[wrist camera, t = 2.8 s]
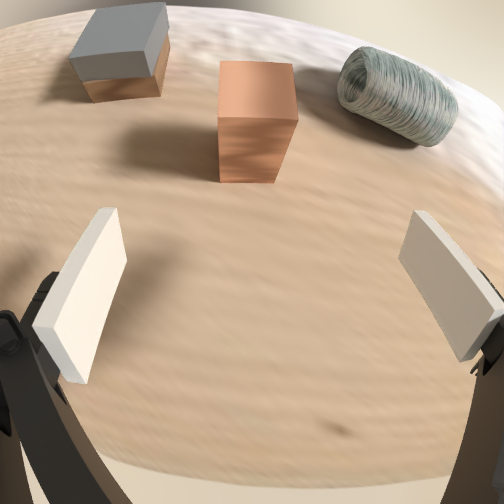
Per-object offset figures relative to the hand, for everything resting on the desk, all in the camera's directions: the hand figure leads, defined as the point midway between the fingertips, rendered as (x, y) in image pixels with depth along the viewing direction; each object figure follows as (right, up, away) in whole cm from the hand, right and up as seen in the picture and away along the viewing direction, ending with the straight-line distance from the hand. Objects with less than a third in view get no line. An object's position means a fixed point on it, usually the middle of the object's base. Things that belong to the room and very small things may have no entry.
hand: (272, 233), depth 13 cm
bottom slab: (-15, +20, +18) cm, 30 cm away
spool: (+14, +15, +19) cm, 28 cm away
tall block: (-1, +8, +16) cm, 18 cm away
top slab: (-14, +20, +14) cm, 28 cm away
